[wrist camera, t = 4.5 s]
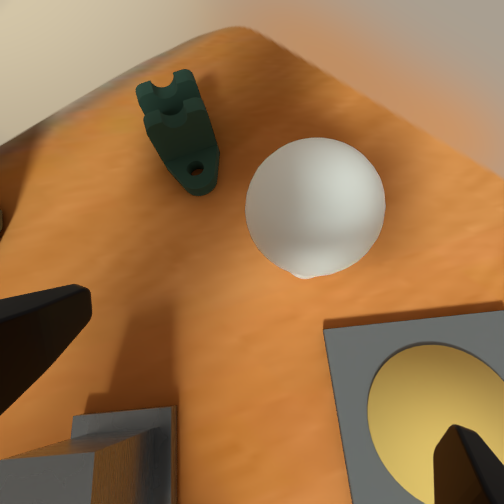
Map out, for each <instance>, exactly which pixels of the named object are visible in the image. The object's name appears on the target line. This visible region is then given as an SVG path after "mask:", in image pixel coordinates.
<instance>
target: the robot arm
mask: <svg viewBox="0 0 504 504" xmlns="http://www.w3.org/2000/svg"><path fill="white" fill-rule="evenodd" d="M91 317H92V303H91V292H90V290H89V289H88V288H86V287H83V286H80V285H77V284H71V285H66V286H62V287H57V288H52V289H47V290H43V291H38V292H33V293H28V294H24V295H19V296H14V297H9V298H5V299H0V415H1V414H2V413H3V412H4V411H6V410H7V409H8V408H9V407H10V406H11V405H12V404H13V403H14V402H15V401H16V400H17V399H18V398H19V397H20V396H21V395H22V394H23V393H24V392H25V391H26V390H27V389H28V388H29V387H30V386H31V385H32V384H33V383H34V382H35V381H36V380H37V379H38V378H39V377H40V376H41V375H42V374H43V373H44V372H45V371H46V370H47V369H48V368H49V367H50V366H51V365H52V364H53V363H54V362H55V361H56V359H57V358H58V357H59V356H60V355H61V354H62V353H63V351H64V350H65V349H66V348H67V347H68V346H69V344H70V343H71V342H72V341H73V340H74V339H75V337H76V336H77V335H78V334H79V333H80V332H81V330H82V329H83V328H84V327H85V326H86V325H87V324H88V322H89V321H90V319H91ZM433 474H434V504H504V465H503V464H502V462H501V461H500V460H499V459H498V457H497V456H496V455H495V454H494V453H493V451H492V450H491V449H490V448H489V446H488V445H487V444H486V443H485V442H484V440H483V439H482V438H481V437H480V435H479V434H478V433H476V432H475V431H473V430H471V429H468V428H465V427H463V426H460V425H457V424H453V425H451V426H450V427H449V428H448V429H447V431H446V432H445V434H444V435H443V437H442V438H441V440H440V441H439V442H438V444H437V445H436V447H435V450H434V454H433Z"/></svg>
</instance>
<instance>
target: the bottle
mask: <svg viewBox="0 0 504 504" xmlns="http://www.w3.org/2000/svg"><path fill="white" fill-rule="evenodd" d="M2 227H3V225H2V210H1V209H0V231H1V229H2Z"/></svg>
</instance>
